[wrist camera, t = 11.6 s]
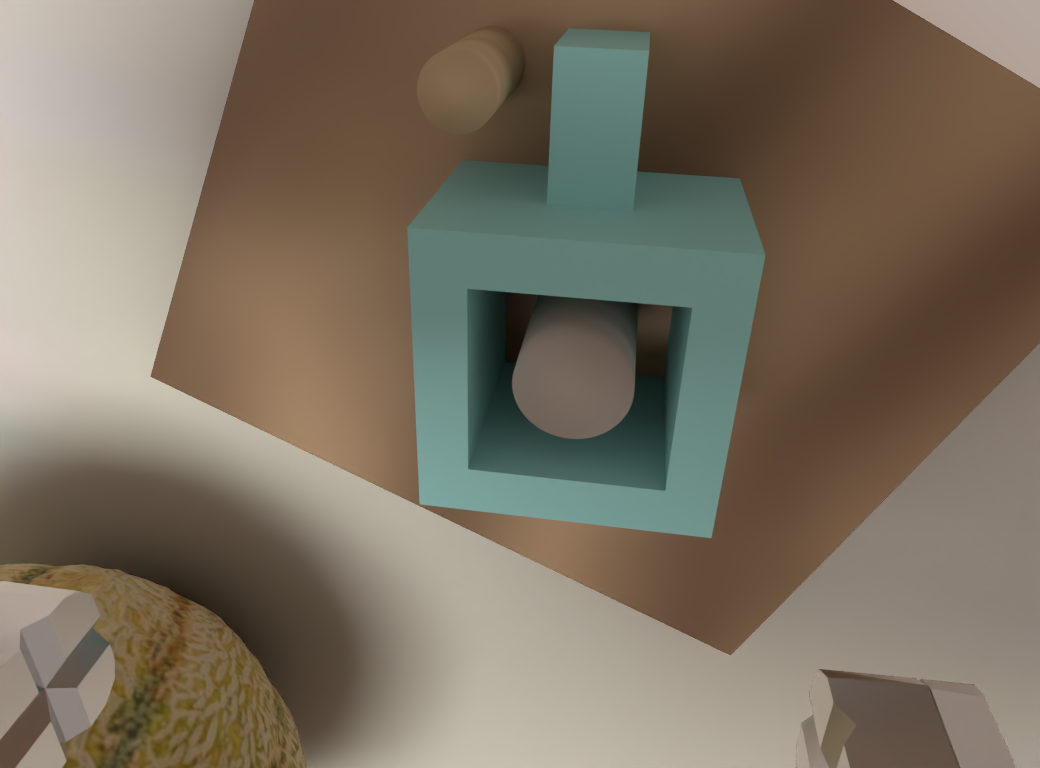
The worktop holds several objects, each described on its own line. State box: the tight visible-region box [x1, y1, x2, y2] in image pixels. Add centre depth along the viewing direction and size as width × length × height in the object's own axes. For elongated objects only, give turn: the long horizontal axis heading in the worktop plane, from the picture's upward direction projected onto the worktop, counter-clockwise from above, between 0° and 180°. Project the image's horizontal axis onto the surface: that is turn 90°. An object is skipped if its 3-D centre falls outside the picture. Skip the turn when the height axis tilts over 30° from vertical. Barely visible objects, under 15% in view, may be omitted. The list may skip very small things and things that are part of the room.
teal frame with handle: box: [407, 28, 765, 538], centre depth 14 cm, size 8×5×4 cm
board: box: [151, 0, 1040, 655], centre depth 15 cm, size 16×14×5 cm
